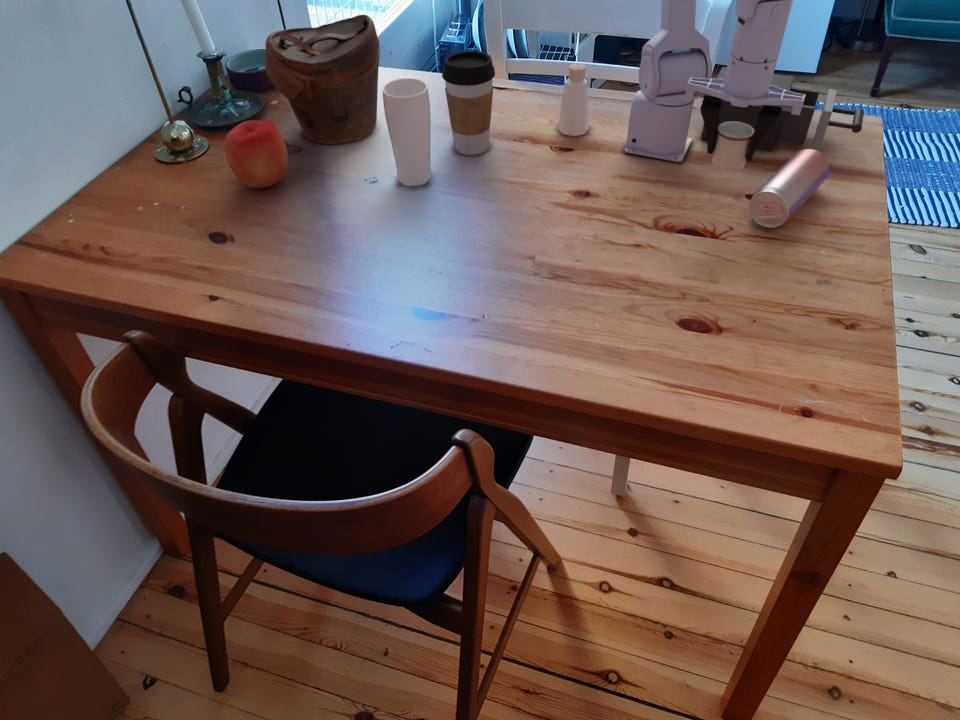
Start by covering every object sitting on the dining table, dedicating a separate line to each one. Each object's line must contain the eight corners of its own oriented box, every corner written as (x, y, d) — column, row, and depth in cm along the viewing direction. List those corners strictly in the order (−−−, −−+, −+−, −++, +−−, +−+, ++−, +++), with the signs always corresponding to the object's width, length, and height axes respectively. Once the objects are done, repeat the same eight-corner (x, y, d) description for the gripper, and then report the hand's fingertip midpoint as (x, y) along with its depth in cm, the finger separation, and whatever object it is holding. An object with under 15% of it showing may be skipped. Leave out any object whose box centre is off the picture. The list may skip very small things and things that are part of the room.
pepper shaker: (590, 136, 122) (595, 72, 114) (558, 136, 122) (561, 73, 114) (587, 121, 126) (592, 58, 118) (556, 122, 126) (559, 59, 118)
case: (261, 136, 126) (233, 31, 113) (345, 96, 136) (329, -4, 123) (327, 167, 117) (305, 58, 104) (412, 122, 127) (401, 17, 115)
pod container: (706, 168, 98) (714, 134, 94) (714, 152, 101) (721, 118, 97) (742, 174, 96) (751, 140, 93) (748, 158, 99) (757, 124, 96)
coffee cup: (438, 154, 119) (431, 64, 108) (458, 131, 125) (453, 44, 114) (485, 162, 117) (482, 71, 106) (503, 138, 122) (502, 50, 112)
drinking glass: (443, 173, 115) (436, 81, 104) (423, 194, 110) (414, 100, 100) (406, 165, 117) (396, 74, 106) (385, 185, 112) (372, 93, 102)
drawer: (855, 134, 118) (870, 94, 113) (851, 158, 112) (866, 117, 108) (759, 119, 123) (769, 80, 118) (751, 141, 117) (761, 101, 112)
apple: (300, 167, 117) (287, 109, 110) (288, 199, 111) (273, 139, 103) (243, 168, 118) (226, 111, 111) (227, 200, 111) (208, 140, 104)
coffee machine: (780, 125, 122) (794, 76, 116) (772, 151, 116) (786, 101, 110) (712, 115, 126) (722, 66, 120) (700, 139, 120) (710, 89, 114)
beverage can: (833, 183, 106) (792, 229, 98) (793, 185, 110) (751, 229, 103) (829, 145, 104) (786, 188, 96) (788, 149, 108) (744, 191, 100)
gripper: (688, 58, 88) (670, 157, 97) (811, 75, 83) (780, 178, 93) (700, 37, 92) (682, 134, 102) (818, 52, 88) (788, 153, 97)
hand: (729, 153), depth 98 cm, fingers closed on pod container, 4 cm apart
